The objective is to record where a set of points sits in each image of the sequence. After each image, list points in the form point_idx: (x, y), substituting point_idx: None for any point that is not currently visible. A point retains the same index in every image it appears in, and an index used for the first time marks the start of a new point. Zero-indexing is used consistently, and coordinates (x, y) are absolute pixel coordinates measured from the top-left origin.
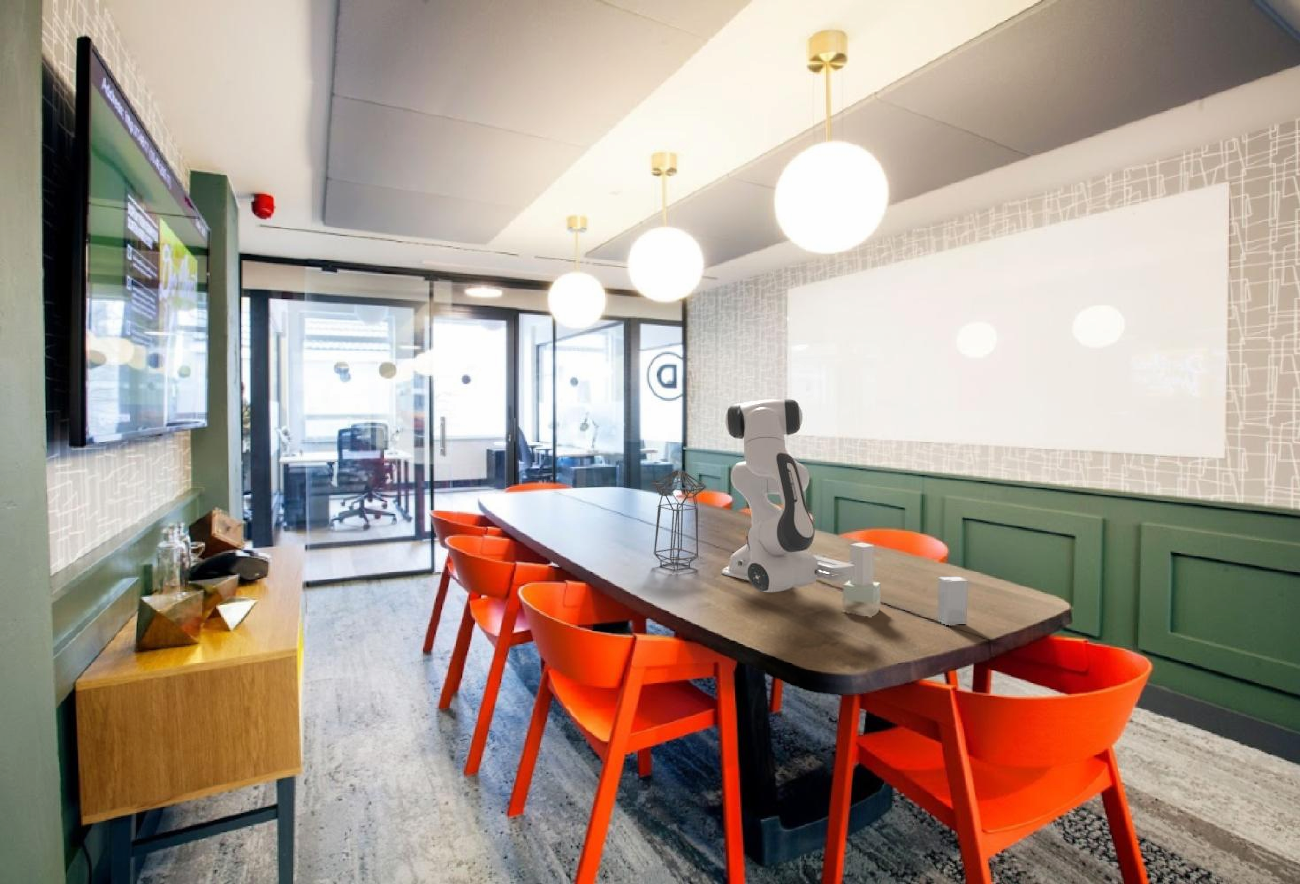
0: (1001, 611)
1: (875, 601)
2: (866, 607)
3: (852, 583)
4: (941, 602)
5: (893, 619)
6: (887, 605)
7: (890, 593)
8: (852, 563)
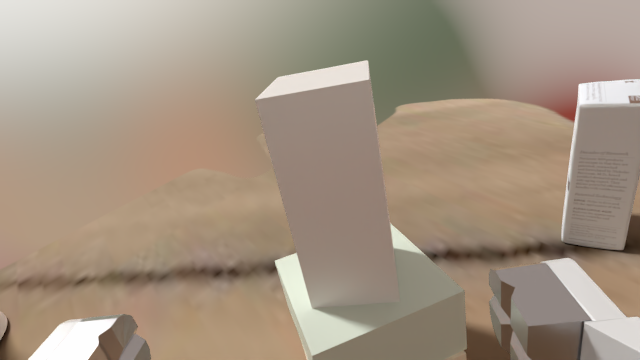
0: (514, 142)
1: None
2: None
3: (330, 305)
4: (597, 186)
5: None
6: None
7: None
8: (576, 272)
